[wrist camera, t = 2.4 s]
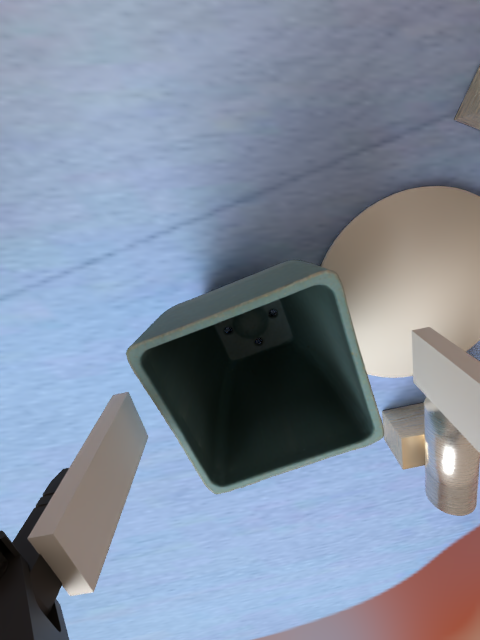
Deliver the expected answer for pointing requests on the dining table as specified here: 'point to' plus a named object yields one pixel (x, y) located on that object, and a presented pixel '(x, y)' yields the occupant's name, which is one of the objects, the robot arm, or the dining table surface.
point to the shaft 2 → (471, 104)
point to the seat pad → (410, 273)
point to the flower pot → (260, 376)
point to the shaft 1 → (435, 455)
